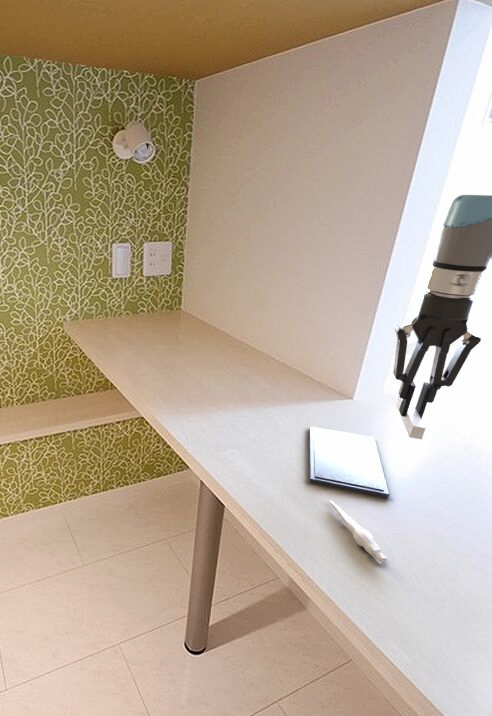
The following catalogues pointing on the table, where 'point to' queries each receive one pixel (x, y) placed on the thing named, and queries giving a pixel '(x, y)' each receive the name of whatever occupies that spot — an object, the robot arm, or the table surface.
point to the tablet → (346, 462)
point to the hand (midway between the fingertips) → (409, 414)
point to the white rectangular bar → (412, 421)
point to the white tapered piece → (360, 535)
